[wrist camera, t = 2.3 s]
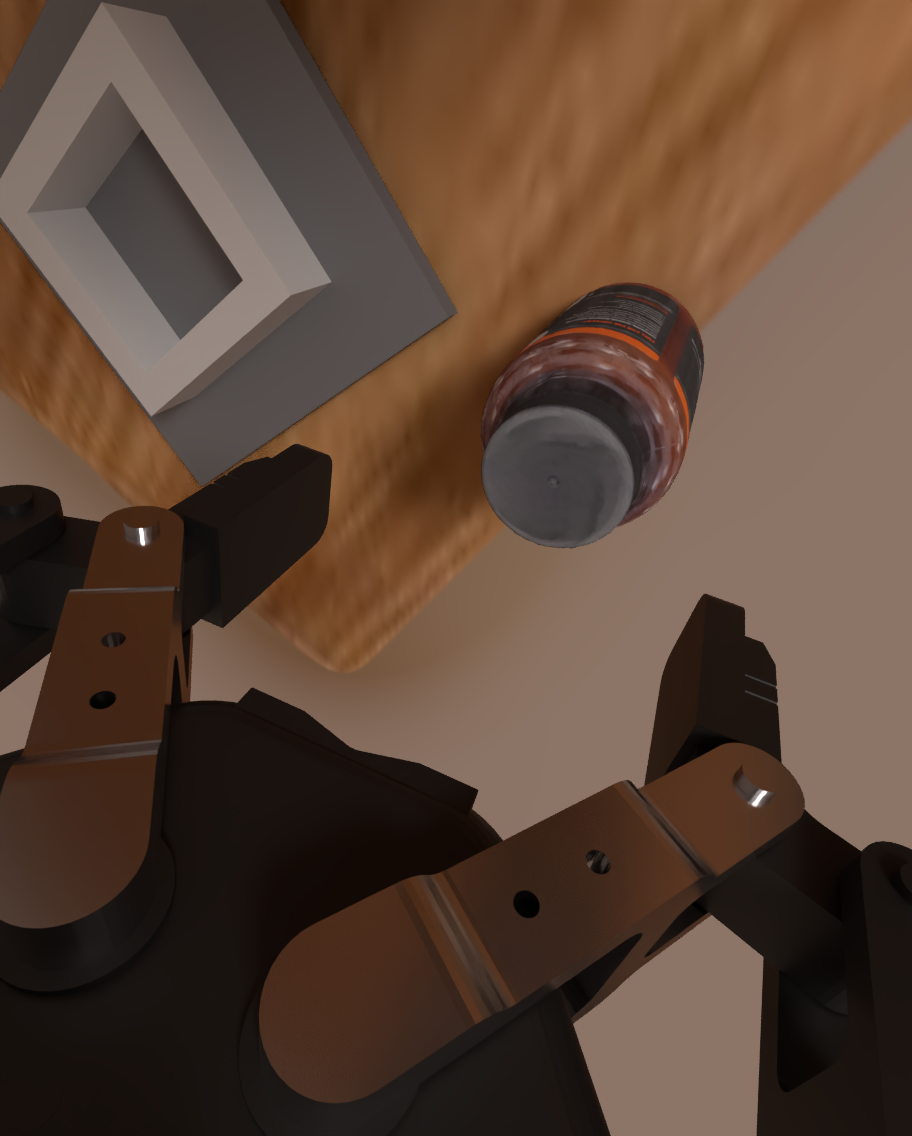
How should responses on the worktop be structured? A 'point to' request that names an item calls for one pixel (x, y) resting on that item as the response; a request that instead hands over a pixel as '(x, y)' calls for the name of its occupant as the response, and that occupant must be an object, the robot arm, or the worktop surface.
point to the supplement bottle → (592, 416)
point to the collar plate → (207, 216)
